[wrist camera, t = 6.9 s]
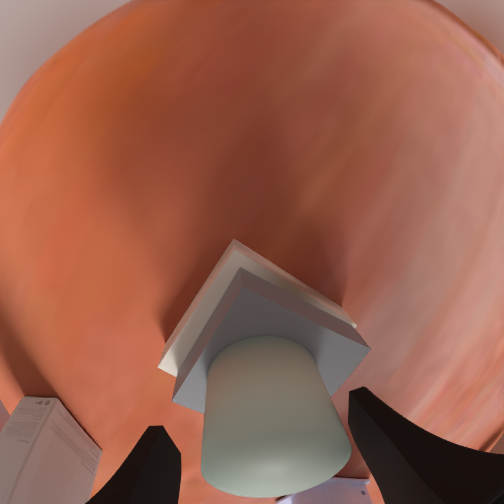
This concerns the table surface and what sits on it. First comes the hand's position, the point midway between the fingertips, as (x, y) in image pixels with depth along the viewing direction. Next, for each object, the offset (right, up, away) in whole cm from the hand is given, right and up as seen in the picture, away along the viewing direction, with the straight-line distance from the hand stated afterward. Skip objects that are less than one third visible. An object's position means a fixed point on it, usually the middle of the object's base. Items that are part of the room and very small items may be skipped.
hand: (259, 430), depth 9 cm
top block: (0, +1, +5) cm, 5 cm away
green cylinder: (0, +1, +3) cm, 3 cm away
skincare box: (-18, -10, +9) cm, 23 cm away
